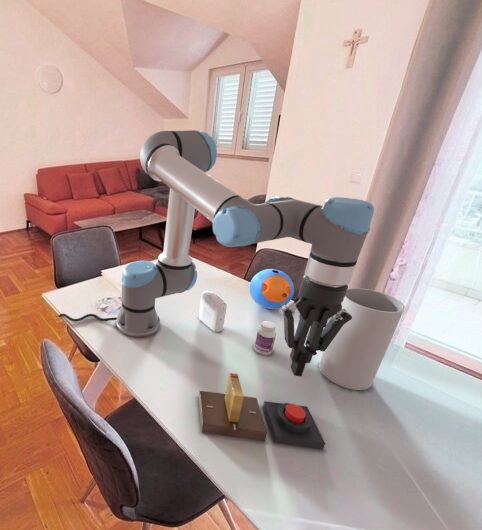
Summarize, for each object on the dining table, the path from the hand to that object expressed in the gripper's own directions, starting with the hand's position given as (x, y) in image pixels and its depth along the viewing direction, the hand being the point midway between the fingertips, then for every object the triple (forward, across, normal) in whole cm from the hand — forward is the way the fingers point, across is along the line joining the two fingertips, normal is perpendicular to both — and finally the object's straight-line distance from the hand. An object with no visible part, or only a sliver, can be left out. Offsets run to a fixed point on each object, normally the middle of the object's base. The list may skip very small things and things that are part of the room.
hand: (295, 371), depth 71 cm
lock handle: (+12, +13, +3) cm, 17 cm away
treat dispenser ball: (+15, -11, -55) cm, 59 cm away
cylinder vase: (+15, -22, -18) cm, 32 cm away
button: (+11, -1, +3) cm, 11 cm away
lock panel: (+15, +13, +3) cm, 20 cm away
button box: (+15, -1, +3) cm, 15 cm away
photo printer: (+15, +13, -38) cm, 43 cm away
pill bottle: (+15, -2, -26) cm, 31 cm away
